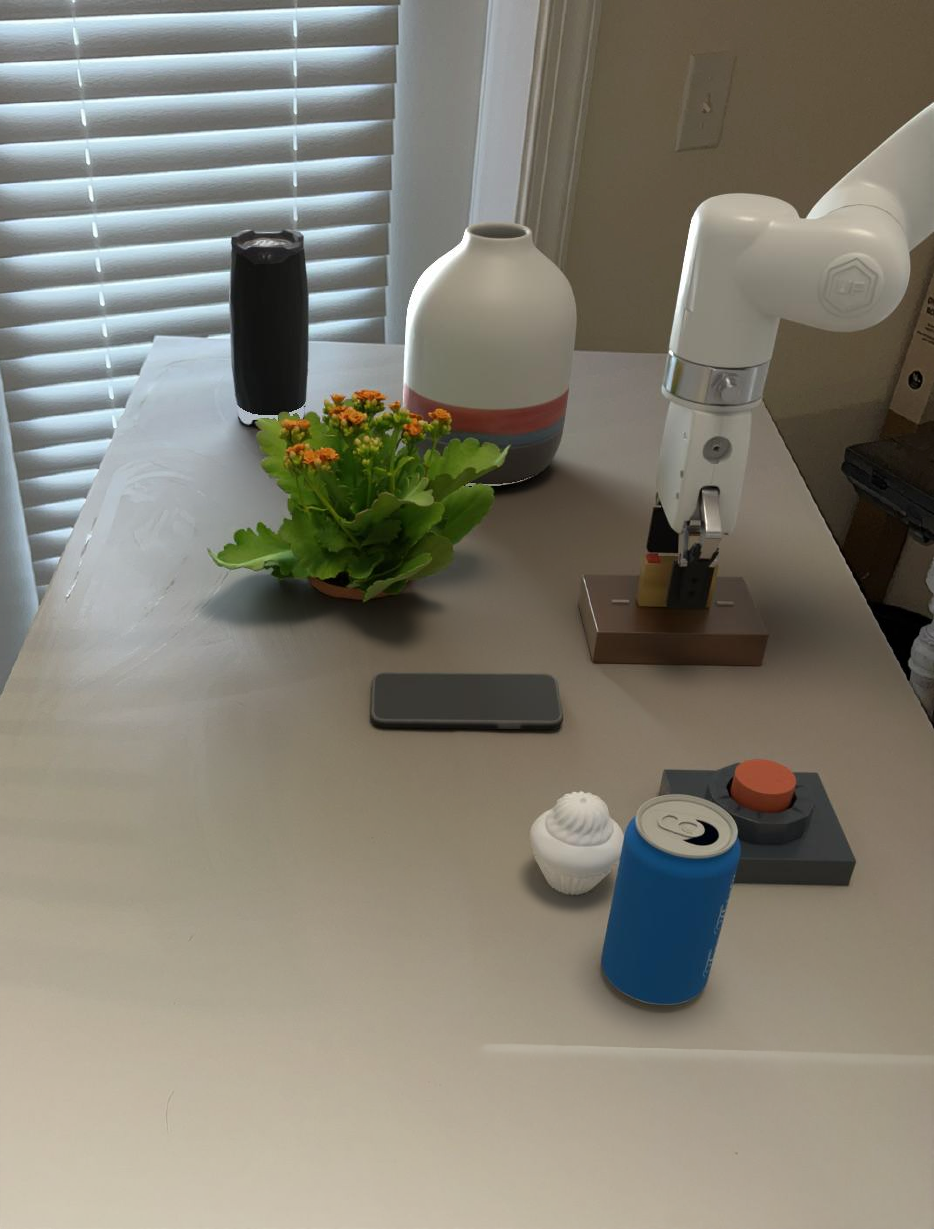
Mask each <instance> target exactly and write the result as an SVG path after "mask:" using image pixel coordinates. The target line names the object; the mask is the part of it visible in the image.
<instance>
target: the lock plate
mask: <svg viewBox="0 0 934 1229" xmlns="http://www.w3.org/2000/svg"><path fill="white" fill-rule="evenodd" d="M639 576H640V574H639V575H638V574H582V576H581V577H582V578H581V582H580V583H581V584H580V590H579V598H578V607H579V611H580V617H581V620H582V624H583V628H584V633H585V636H586V640H587V645H588V649H589V654H590V657H591V662H592V663H594V664H596V663H597V664H599V663H600V664H643V665H647V664H648V665H694V666H695V665H696V666H697V665H698V666H699V665H700V666H702V665H703V666H748V667H749V666H756V667H757V666H758V667H761V666H762V665H763V661H764V657H765V653H766V648H767V645H768V640H769V638H770V637H769V636H770V633H769V632H768V630H767V628H766V625H765V623H764V621H763V618H762V616H761V614H760V612H759V609H758V607H757V605H756V603H755V600H754V598H753V596H752V594H751V592H750V590H749V588H748V585H747V584H746V581H745V579H744V577H743V576H717V577H716V582H715V586H714V591H713V596H712V601H711V605H710V608H704V609H702V610H695V609H669V608H667V607H643V606H639V605H638V602H637V599H636V594H637V588H638V582H639Z"/></svg>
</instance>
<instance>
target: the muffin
mask: <svg viewBox="0 0 934 1229" xmlns="http://www.w3.org/2000/svg"><path fill="white" fill-rule="evenodd" d="M624 835H625V834H624V832H623V830H622V828H621V826H620V825H619V824H618V823H617V822H616V821H615V820H614V819H613V818H612V817H611V815H610V811H609V807H608V805H607V804H606V802H605V801H604V800H602V798H601V797H600V796H598V795H595V794H593V793H592V792H584V791H582V790H581V791H579V792H577V791H572V792H571V793H565V794H564V795H563V796H562V797H560V798H559V799H557V800H556V804H555V805H554V806H553V807H552V808H551V809H548V810H546V811H545V812H543V813H541V814H540V815H539V816H538V817H537V818H536V819H535V821H534V822H533V823H532V825H531V827H530V831H529V840H530V845H531V847H532V854H533V856H534V860H535V861H536V863H537V865H538V867H539V869H540V871H541V873H542V875H543V876H544V878H545V880H546V882H547V884H548V885H549V886H550V887H551V888H552V889H554V890H555V891H558V892H559V893H562V894H564V895H570V896H574V895H576V896H578V895H583V894H586V893H589V892H590V891H591V890H593V889H594V888H595V887H596V886H597V885H598V884H599V883H600V882H601V881H602V880H603V879H605V877H607V876H608V875H609V874H610V873H611V872H612V871H613V868H615V867H616V864H617V863H619V861H620V856H621V851H622V845H623V840H624Z"/></svg>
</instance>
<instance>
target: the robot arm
mask: <svg viewBox="0 0 934 1229" xmlns="http://www.w3.org/2000/svg"><path fill="white" fill-rule="evenodd" d="M689 226H690V227H689V229H688V230H689V231H688V235H687V236H688V237H687V242H686V248H685V253H684V259H683V264H682V271H681V276H680V281H679V287H678V293H677V297H676V305H675V310H674V316H673V322H672V328H671V333H670V340H669V345H668V350H667V356H666V362H665V368H664V372H663V378H662V382H661V383H662V384H661V389H660V390H661V394H662V396H664V397H665V399H666V400H669V403H668V404H669V405H668V408H667V413H666V418H665V423H664V427H663V432H662V437H661V442H660V448H659V453H658V459H657V466H656V474H655V488H656V493H655V498H654V505H655V506H653V507H652V513H651V518H650V524H649V530H648V534H647V540H646V549H647V553H658V554H677V556H678V561H673V566H672V571H671V576H670V581H669V586H668V591H667V596H666V602H665V603H666V606H667V608H669V609H695V610H702V609H704V608H705V607H706V605H707V601H708V596H709V592H710V587H711V583H712V578H713V573H714V569H715V566H716V562H718V556H719V554H720V551H719V550H720V548H719V546H720V544H721V542H722V539H723V535H725V536H730V535H731V534H732V533H733V532H734V531H735V530H736V526H737V521H738V515H739V509H740V503H741V499H742V492H743V488H744V482H745V476H746V470H747V464H748V457H749V452H750V451H749V450H750V443H751V434H752V420H753V409H754V408H757V407H758V406H759V405H761V403H762V401H763V397H764V392H765V388H766V383H767V380H768V374H769V370H770V365H771V360H772V356H773V352H774V348H775V343H776V339H777V335H778V330H779V326H780V321H781V319H782V320H787V321H790V322H794V323H798V324H801V325H804V326H807V327H811V328H815V329H818V330H819V329H820V330H824V331H828V332H833V333H853V332H859V331H862V330H867V329H869V328H872V327H874V326H876V325H877V324H880V323H881V322H883V321H884V320H885V319H887V318H888V317H889V316H891V314H892V313H893V312H894V311H895V310H896V308H897V307H898V306H899V305H900V303H901V301H902V300H903V298H904V296H905V294H906V292H907V288H908V286H909V281H910V277H911V257H910V252H911V251H912V250H914V249H916V247H917V246H918V245H919V244H921V243H922V242H924V241H925V240H926V239H927V238H929V236H930V235H932V234H933V233H934V101H933V102H931V103H930V104H929V105H928V106H926V107H925V108H924V109H922V110H921V111H920V112H919V113H917V114H916V115H914V116H913V117H912V118H911V119H909V121H907V122H906V123H905V124H903V125H902V126H901V127H900V128H899V129H897V130H896V131H895V132H893V134H891V135H890V136H889V137H888V138H887V139H886V140H884V142H882V143H881V144H880V145H879V146H878V147H877V148H875V149H874V150H872V152H871V153H869V154H868V155H867V156H866V157H865V158H864V159H863V160H861V161H860V162H859V163H858V164H857V165H856V166H855V167H854V168H852V169H851V170H850V171H849V172H848V173H846V174H845V175H844V176H843V177H842V178H841V179H840V180H839V181H837V183H836V184H834V185H833V186H832V187H831V188H830V189H829V190H828V191H827V192H826V193H825V194H824V195H823V196H822V197H821V198H820V199H819V200H818V201H817V202H816V204H814V206H813V207H812V209H811V210H810V211H809V213H808V214H807V216H806V217H805V218H801V217H800V215H799V213H798V211H797V209H796V208H795V207H794V206H793V205H792V204H791V203H789V202H787V201H784V200H782V199H781V198H777V197H774V196H769V195H765V194H764V195H763V194H757V193H747V192H746V193H744V192H740V193H739V192H734V193H723V194H719V195H714V196H712V197H708V198H707V199H706V200H703V202H701V203H700V204H699V205H698V206H697V207H696V210H695V211H694V213H693V216H692V217H691V223H690V225H689ZM691 521H694V522H695V521H697V522H699V521H700V524H691ZM690 537H698V542H694V543H693V544H692V545H691V547H690Z"/></svg>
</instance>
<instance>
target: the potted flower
mask: <svg viewBox="0 0 934 1229" xmlns="http://www.w3.org/2000/svg"><path fill="white" fill-rule="evenodd" d="M329 396H330V397H331V398H330V399H331V400H332V402H333V403H332V402H330V400H329V399H328V398H324V400H323V405H324V407H323V408H322V413H323V415H322V416H319V415H318V414H317V413H316V412H315V411H311V410H310V411H308V412H307V413H306V414H304V419H300V417H299V415H298V414H297V413H295V414H293V416H290V414H289V413H288V412H281V413H280V414H279V415H278V421H277V420H276V419H275V418H273V419H269V418H257V421H254V424H255V426H256V427H257V428H258V429H259V431H257V433H256V436H255V439H256V442H257V444H258V445H259V446H260V448H259V450H260V453H262V454H263V455H265V456H267V457H265V458H263V459H262V460H261V461H260V467H261V468H262V470H263V471H264V472H265V473H266V474H268V477H269V478H271V479H274V480H275V479H276V481H275V484H276V486H277V487H278V488H279V489H281V490H282V491H283V492H284V493H285V494H289V497H287V501H286V505H287V510H288V512H289V515H290V516H291V518H287V517H283V519H282V523H281V524H280V526H279V528H278V530H277V533H276V532H275V531H274V530H272V528H270V527H267V525H266V524H265V523H264V522H262V521H258V522H257V523H256V527H255V528H256V529H255V531H254V530H253V529H252V528H251V527H249V526H247V527H246V529H245V528H239V529H236V531H234V533H233V541H234V543H231V542H230V543H226V544H225V545H224V546H223V549H222V550H220V551H219V552H218V553H217V555H216V554H215V553H214V551H212V550H211V548H210V547H207V548H206V549H207V553H208V555H209V557H211V560H212V561H213V562H214V564H215V565H216V566H217V567H220V568H223V567H224V568H225V569H227V570H229V571H233V570H238V569H242V568H244V569H247V570H248V569H249V570H251V571H253V572H259V571H262V570H264V569H265V570H266V571H269V569H271V568H272V571H271V572H270V576H271V577H272V578H274V579H275V578H276V579H279V580H285V579H290V580H291V579H295V580H305V579H307V580H308V582H309V583H310V585H311V586H313V587H314V588H315V589H317V591H318V592H321V593H323V594H325V595H327V596H329V597H333V598H338V599H339V598H342V599H349V600H357V601H362V602H363V603H365V602H367V601H369V600H371V599H378V598H382V597H387V596H391V595H392V596H394V595H397V594H399V593H400V592H402V590H403V588H405V587H407V585H408V582H409V581H413V580H419V579H424V578H428V577H430V576H434V575H436V574H439V573H440V572H442V571H444V570H446V569H447V568H448V567H449V565H450V564H451V563H453V561H454V560H455V556H453V554H454V553H455V551H454V546H455V545H457V544H459V543H460V542H461V541H462V540H463V539H464V538H465V537H466V536H467V535H469V534H470V533H471V532H472V531H473V530H474V529H475V528H476V527H477V526H478V525H479V524H480V523H482V522H483V521H484V518H486V516H487V515H488V514H489V513H490V512H491V510H492V506H494V503H495V499H496V498H495V495H494V494H495V490H494V487H490V486H488V485H483V484H481V483H480V484H475V485H473V486H472V487H469V486H464V485H466V484H468V483H469V482H471V481H473V480H475V479H477V478H479V477H481V476H482V475H484V474H486V473H488V472H490V471H492V470H494V469H496V468H498V467H500V466H502V465H503V463H504V460H505V457H506V455H507V453H508V449H509V448H510V446H511V445H508V446H507V447H506V448H505V450H504V451H503V452H502V449H500V450H499V448H498V447H497V446H496V445H495V444H492V443H488V442H485V443H484V444H482V446H481V447H479V441H478V440H477V439H474V438H467V439H465V440H464V442H463V443H462V444H461V442H460V440H459V439H452V440H451V441H450V442H449V444H448V447H447V446H446V447H445V449H444V451H443V456H442V457H441V455H440V453H439V452H438V451H437V450H435V447H436V443H437V441H438V440H439V439H440V438H441V437H442V435H444V434H450V432H449V431H450V430H451V428H450V423H451V422H452V419H451V416H450V414H449V413H446V412H447V411H443V409H436V410H435V412H433V413H430V412H429V413H428V415H429V417H431V418H433V419H434V421H432V422H431V423H430V424H428V422H427V421H423V419H424V418H423V417H422V416H421V415H417V414H413V413H409V410H406V408H403V407H402V401H401V400H396V401H394V403H391V404H390V403H388V404H387V406H388V408H389V409H390V410H391V412H389V411H386V406H385V402H383V401H386V400H387V399H388V397H387V396H385V394H384V393H383V394H382V393H381V392H380V391H378V390H377V391H376V390H375V389H373V390H369V389H361V390H360V391H358V390H357V391H354V392H353V393H352V394H351V396H350V398H346V397H347V396H346V395H343V394H337V393H335V394H333V393H332V394H330V395H329ZM345 398H346V399H345ZM378 413H381V414H380V415H377V414H378ZM376 415H377V416H376ZM321 420H322V422H321ZM391 430H392V432H391V435H390V433H388V432H390V431H391ZM386 432H387V433H386ZM424 432H426V433H430V435H429V437H430V438H431V440H433V441H434V443H433V446H432V449H431V450H430V449H428V450H427V451H426V453H425V455H424V457H423V460H422V461H423V462H422V464H421V458H420V457H419V455H418V452H417V451H418V450H419V447H417V448H416V449H414V446H415V445H416V444H417V443H420V442H422V441H424V440H426V439H425V437H426V433H425V434H423V433H424ZM438 433H439V435H438ZM435 435H436V436H435ZM437 437H438V438H437ZM401 442H402V444H404V445H405V446H402V448H400V449H399V450H398V448H399V445H400V443H401ZM406 444H407V446H406ZM397 450H398V451H397ZM396 452H397V453H396ZM501 452H502V453H501Z"/></svg>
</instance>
